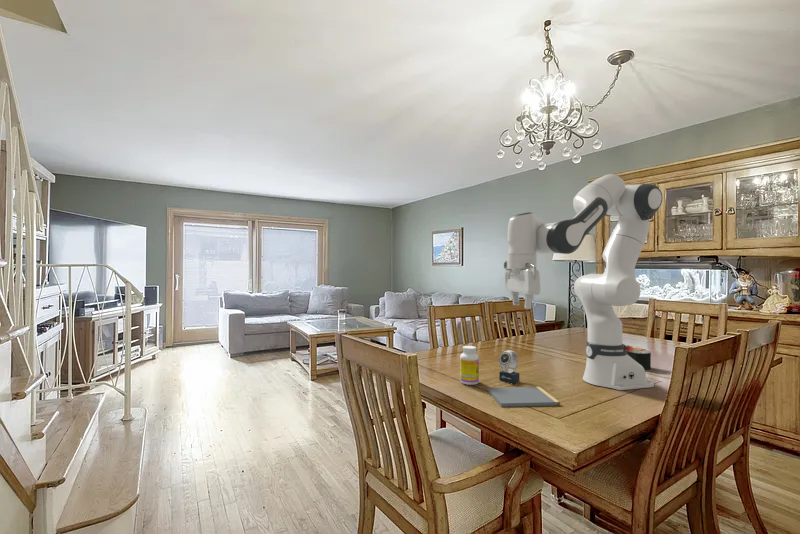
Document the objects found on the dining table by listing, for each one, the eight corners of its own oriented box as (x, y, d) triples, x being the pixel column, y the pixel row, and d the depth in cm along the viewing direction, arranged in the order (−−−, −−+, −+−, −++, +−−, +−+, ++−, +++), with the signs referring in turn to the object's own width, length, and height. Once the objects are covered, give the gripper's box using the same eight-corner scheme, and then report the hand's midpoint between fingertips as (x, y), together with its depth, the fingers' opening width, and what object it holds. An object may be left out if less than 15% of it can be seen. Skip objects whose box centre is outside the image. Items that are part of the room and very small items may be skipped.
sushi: (622, 366, 155) (622, 347, 155) (635, 364, 159) (635, 345, 159) (641, 371, 148) (642, 351, 148) (654, 369, 152) (655, 349, 151)
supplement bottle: (478, 386, 130) (478, 349, 130) (459, 385, 132) (459, 348, 132) (478, 380, 137) (478, 345, 137) (460, 379, 138) (460, 344, 138)
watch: (496, 381, 136) (496, 351, 136) (508, 377, 141) (508, 348, 141) (509, 385, 131) (509, 354, 131) (522, 380, 137) (522, 350, 137)
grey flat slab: (539, 389, 127) (539, 386, 127) (559, 405, 113) (559, 401, 113) (487, 390, 126) (487, 387, 126) (501, 406, 112) (501, 403, 112)
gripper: (546, 263, 109) (546, 310, 109) (519, 263, 129) (519, 303, 129) (524, 263, 108) (524, 311, 109) (501, 263, 129) (501, 303, 129)
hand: (521, 306), depth 119 cm, fingers open, 8 cm apart
